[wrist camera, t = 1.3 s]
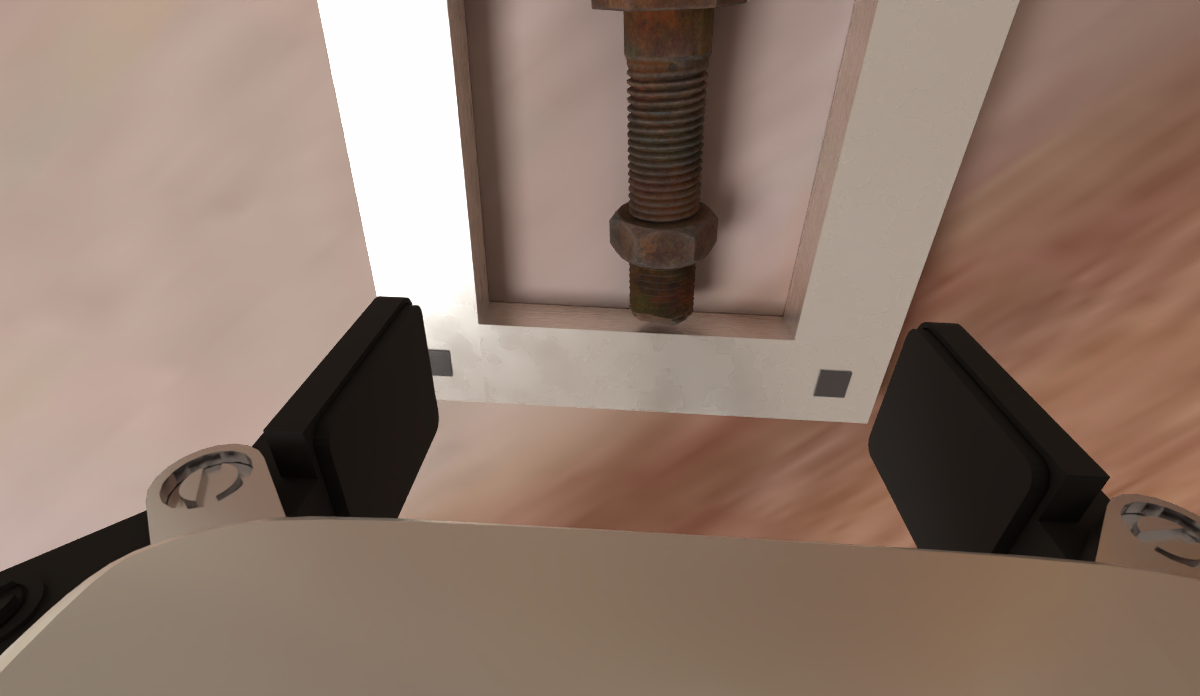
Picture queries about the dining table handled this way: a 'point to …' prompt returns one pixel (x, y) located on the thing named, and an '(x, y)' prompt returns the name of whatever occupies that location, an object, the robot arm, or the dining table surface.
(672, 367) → the plate
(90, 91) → the dining table surface
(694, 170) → the bolt
